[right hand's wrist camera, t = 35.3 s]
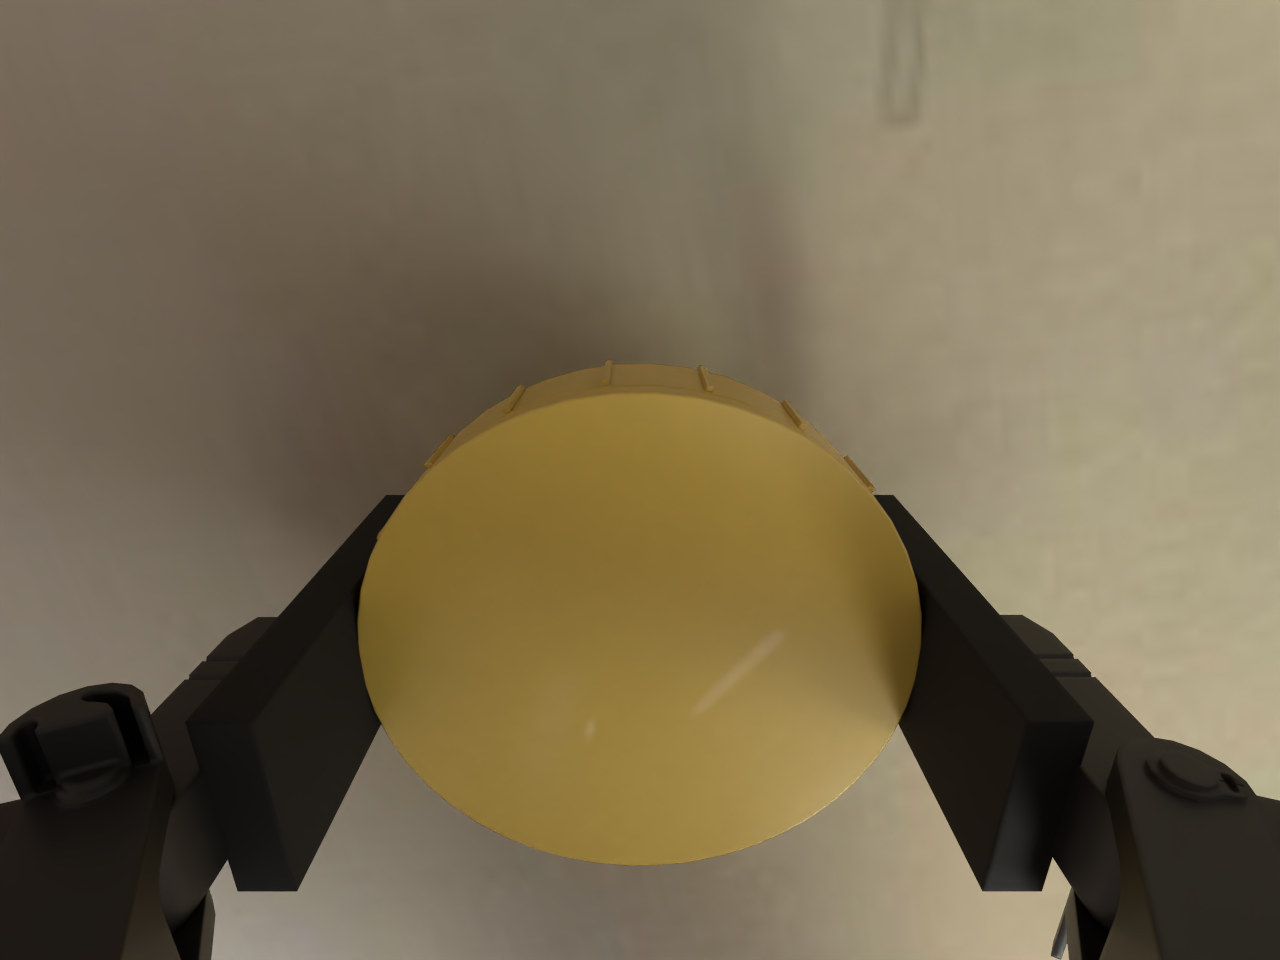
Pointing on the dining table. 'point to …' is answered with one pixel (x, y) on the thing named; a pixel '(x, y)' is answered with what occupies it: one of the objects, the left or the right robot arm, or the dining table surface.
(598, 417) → the lid
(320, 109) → the dining table surface
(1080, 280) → the dining table surface
